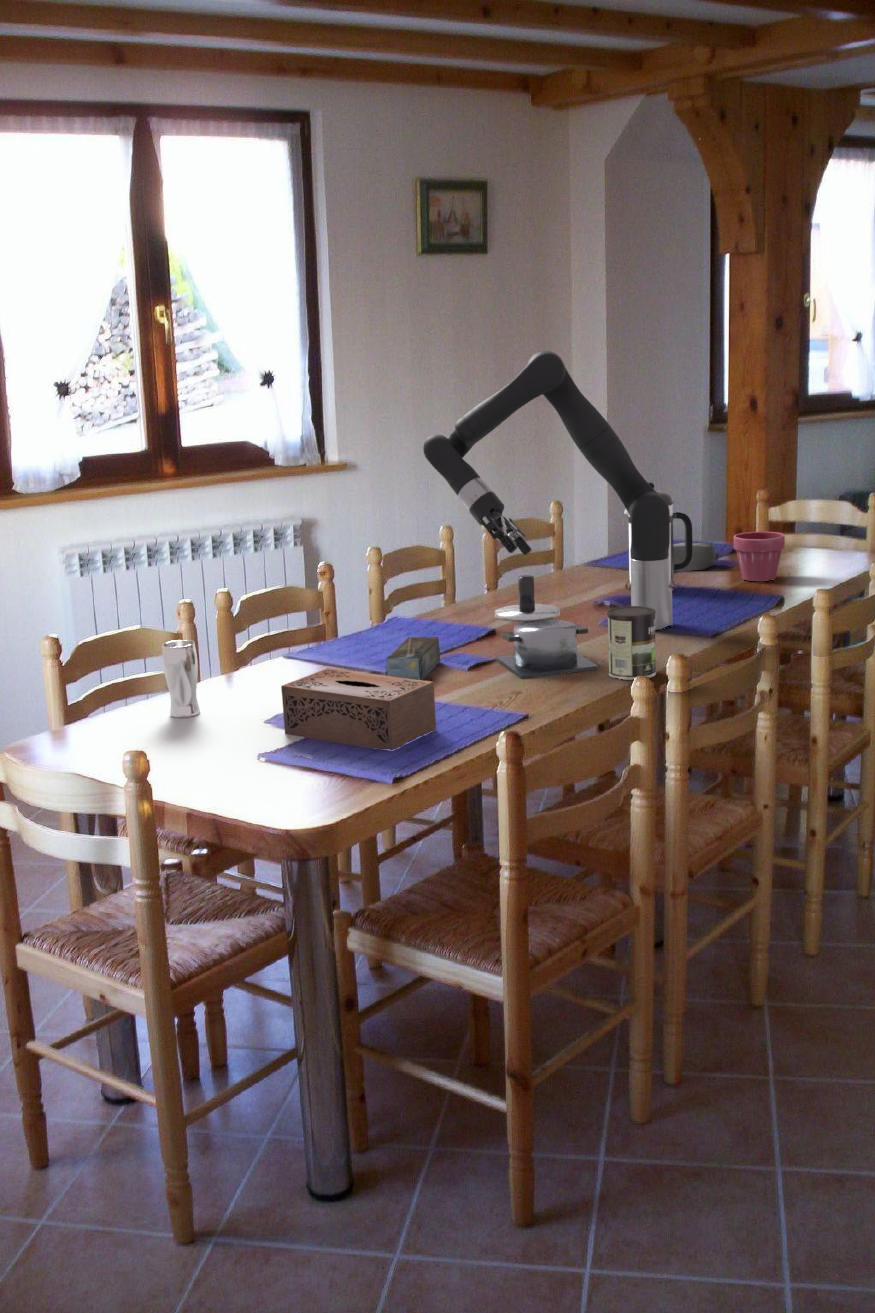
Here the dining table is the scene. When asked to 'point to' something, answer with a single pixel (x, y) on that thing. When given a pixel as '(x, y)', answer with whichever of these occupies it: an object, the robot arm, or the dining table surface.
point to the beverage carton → (414, 658)
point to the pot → (545, 649)
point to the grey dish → (695, 556)
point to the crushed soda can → (181, 677)
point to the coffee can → (631, 642)
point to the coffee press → (688, 538)
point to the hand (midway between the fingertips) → (521, 551)
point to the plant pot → (759, 554)
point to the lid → (527, 605)
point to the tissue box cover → (359, 708)
